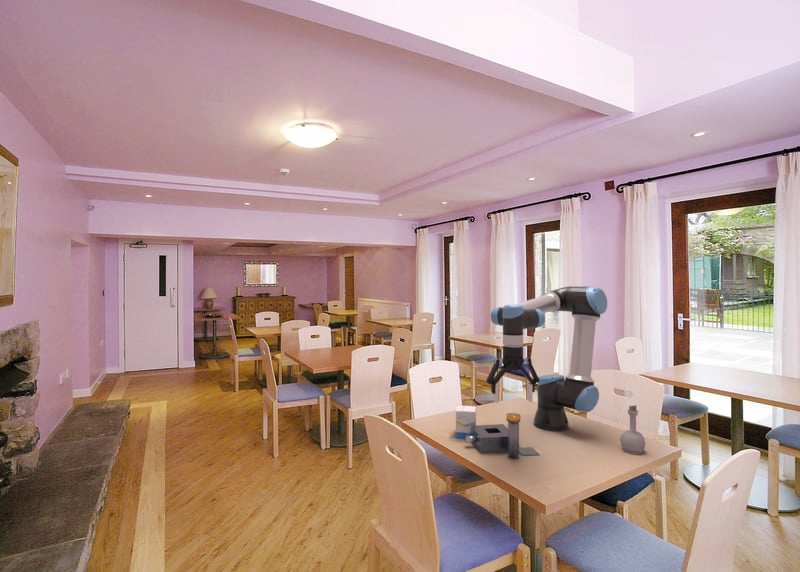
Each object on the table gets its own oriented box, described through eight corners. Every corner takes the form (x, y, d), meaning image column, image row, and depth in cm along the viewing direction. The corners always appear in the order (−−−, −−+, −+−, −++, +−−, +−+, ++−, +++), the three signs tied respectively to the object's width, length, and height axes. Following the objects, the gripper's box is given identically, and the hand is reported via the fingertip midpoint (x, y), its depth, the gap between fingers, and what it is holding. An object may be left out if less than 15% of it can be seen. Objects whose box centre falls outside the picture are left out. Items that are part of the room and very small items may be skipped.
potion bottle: (636, 456, 161) (636, 409, 161) (615, 448, 169) (615, 403, 169) (651, 452, 165) (651, 406, 165) (629, 444, 173) (629, 400, 173)
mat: (532, 448, 170) (532, 447, 170) (539, 455, 163) (539, 454, 163) (515, 449, 170) (515, 448, 170) (522, 456, 163) (522, 455, 163)
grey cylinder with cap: (517, 453, 165) (517, 412, 165) (522, 459, 160) (522, 416, 160) (504, 454, 164) (504, 413, 164) (509, 460, 159) (509, 417, 159)
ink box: (475, 439, 180) (475, 411, 180) (455, 437, 182) (455, 410, 182) (476, 432, 189) (475, 405, 189) (456, 431, 191) (456, 404, 190)
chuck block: (503, 438, 181) (503, 424, 181) (516, 451, 167) (515, 435, 167) (461, 440, 179) (461, 426, 179) (471, 453, 165) (471, 438, 165)
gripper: (539, 343, 167) (539, 397, 167) (478, 344, 164) (478, 399, 164) (548, 346, 159) (548, 402, 160) (484, 347, 156) (484, 405, 157)
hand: (512, 401), depth 162 cm, fingers open, 13 cm apart
